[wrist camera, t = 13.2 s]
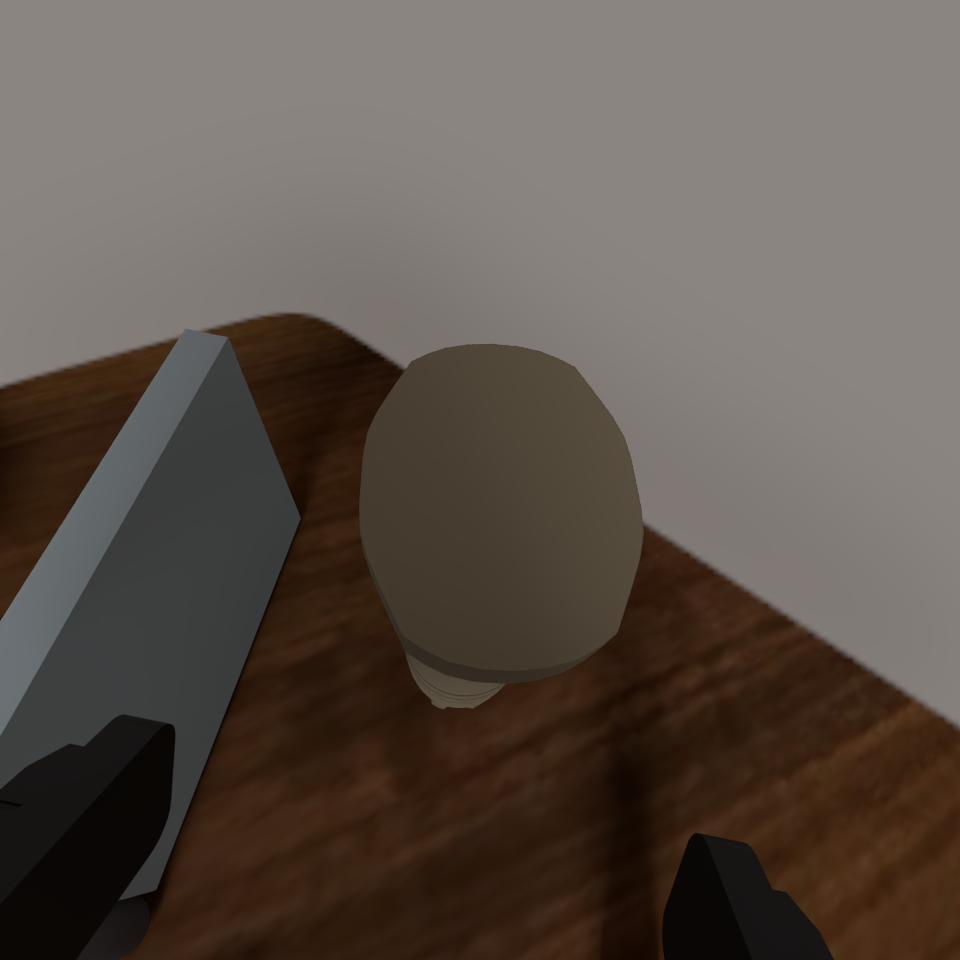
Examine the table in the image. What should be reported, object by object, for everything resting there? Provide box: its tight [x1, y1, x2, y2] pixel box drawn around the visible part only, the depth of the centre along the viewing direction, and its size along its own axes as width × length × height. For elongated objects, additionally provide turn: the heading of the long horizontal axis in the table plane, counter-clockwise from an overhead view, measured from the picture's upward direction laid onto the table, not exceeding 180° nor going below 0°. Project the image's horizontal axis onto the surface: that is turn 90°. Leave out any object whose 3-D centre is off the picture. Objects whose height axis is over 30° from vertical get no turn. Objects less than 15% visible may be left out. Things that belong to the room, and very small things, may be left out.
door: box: [0, 329, 301, 960], centre depth 16 cm, size 15×2×11 cm, turn 170°
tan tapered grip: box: [359, 344, 644, 709], centre depth 16 cm, size 5×6×15 cm
